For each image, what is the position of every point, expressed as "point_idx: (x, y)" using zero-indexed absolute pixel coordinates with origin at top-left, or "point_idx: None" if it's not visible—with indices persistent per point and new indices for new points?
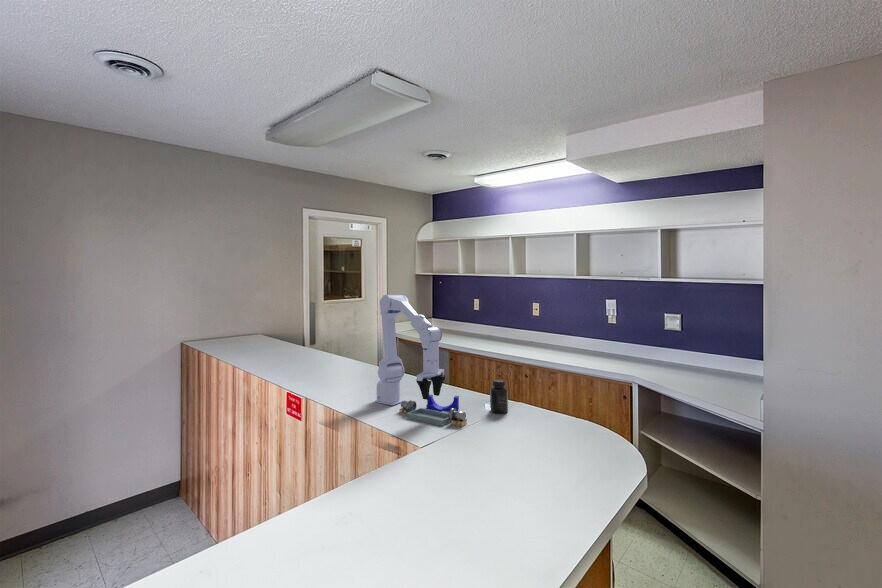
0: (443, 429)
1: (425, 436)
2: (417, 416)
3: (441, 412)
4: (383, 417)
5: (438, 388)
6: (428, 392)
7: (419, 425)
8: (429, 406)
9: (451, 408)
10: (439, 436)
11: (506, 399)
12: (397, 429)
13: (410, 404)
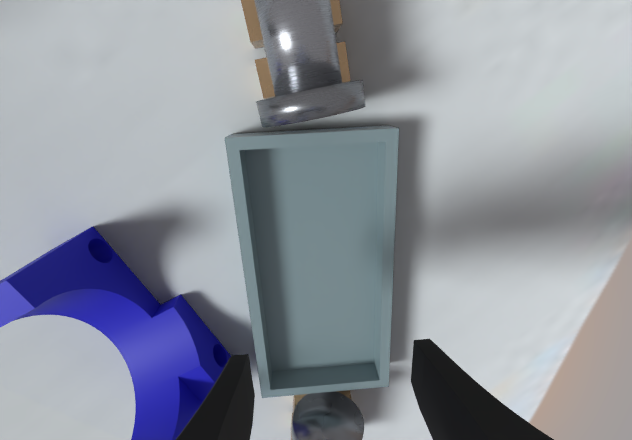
0: (438, 80)
1: (600, 90)
2: (389, 318)
3: (249, 254)
4: None
5: (228, 423)
6: (466, 387)
7: (446, 243)
8: (217, 375)
9: (320, 113)
10: (569, 11)
11: None
12: (553, 284)
13: (344, 435)
